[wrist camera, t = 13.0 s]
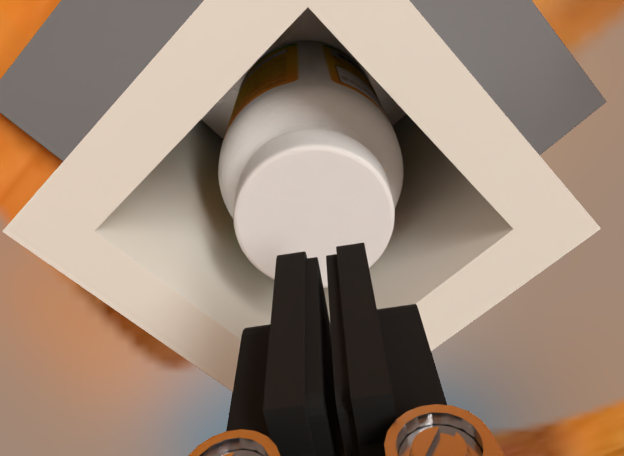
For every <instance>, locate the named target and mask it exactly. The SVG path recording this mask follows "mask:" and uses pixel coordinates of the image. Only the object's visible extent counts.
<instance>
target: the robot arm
mask: <svg viewBox="0 0 624 456" xmlns="http://www.w3.org/2000/svg"><path fill="white" fill-rule="evenodd" d="M336 252H337V254H334V255H327V256H326V265H327V281H328V296H329V312H330V320H329V315H328V310H327V304H326V299H325V294H324V288H323V283H322V278H321V272H320V267H319V262H318V258H317V257H314V258H307V255H306V252H305V251H303V252H297V253H290V254H283V255H277V257H276V267H275V278H274V290H273V301H272V312H271V323H270V325H263V326H255V327H248V328H245V329H244V330H243V332H242V336H241V343H240V349H239V355H238V362H237V368H236V374H235V381H234V387H233V393H232V399H231V406H230V412H229V418H228V425H227V431H226V432H224V433H221V434H219V435H216V436H213V437H211V438H209V439H208V440H206V441H205V442H203V443H202V444H200V445H199V446H197V447H196V449H195V450H194V451H193V452H192V453H191V454H190V455H189V456H505V455H504V453H503V452H502V450H501V448H500V447H499V445H498V443H497V441H496V440H495V438H494V436H493V435H492V433H491V431H490V430H489V429H488V428H487V426H486V425H485V424H484V423H483V422H482V420H480V419H479V418H478V417H476V416H475V415H473V414H472V413H470V412H469V411H466V410H463V409H460V408H457V407H455V406H450V405H447V403H446V400H445V397H444V393H443V390H442V387H441V384H440V380H439V377H438V373H437V370H436V367H435V363H434V360H433V357H432V353H431V350H430V347H429V343H428V340H427V337H426V333H425V330H424V327H423V323H422V320H421V317H420V313H419V310H418V307H417V305H416V304H411V305H404V306H397V307H390V308H383V309H377V307H376V302H375V297H374V291H373V286H372V281H371V276H370V270H369V265H368V260H367V255H366V249H365V244H364V243H357V244H350V245H343V246H337V247H336Z"/></svg>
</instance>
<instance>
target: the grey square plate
mask: <svg viewBox="0 0 624 456" xmlns="http://www.w3.org/2000/svg"><path fill="white" fill-rule="evenodd" d="M298 41H314V42H320V43H325V44H328V45H331V46H333V47H336V48H338V49H340V50H341V51H343V52H344V53H346V54H347V55H349V56H350V57H351V58H352V59H353V60H354V61H355V62H356V63H357V64H358V65H359V66H360V67H361V68H362V70H363V71H364V72H365V74H366V76H367V77H368V79H369V81H370V83H371V85H372V87H373V88H374V91H375V93H376V95H377V97H378V99H379V101H380V103H381V105H382V107H383V109H384V111H385V113H386V115H387V117H388V119H389V121H390V123H391V125H392V126H393V125H394V124H395V123H396V122H398V121H399V120H400V119H401V118H402V117H403V116H404V115H405V114H406V112H405V111H404V110H403V109H402V108H401V107H400V106H399V105H398V104H397V103H396V102H395V101H394V99H393V98H392V97H391V96H390V95H389V94H388V93H387V92H386V91H385V90H384V89H383V88H382V87H381V85H380V84H379V83H378V82H377V81H376V80H375V79H374V78H373V77H372V76H371V75H370V74H369V72H368V71H367V70H366V69H365V68H364V67H363V66H362V65H361V64H360V63H359V62H358V61H357V60H356V58H355V57H354V56H353V55H352V54H351V53H350V52H349V51H348V50H347V49H346V48H345V47H344V45H343V44H342V43H341V42H340V41H339V40H338V39H337V38H336V37H335V36H334V35H333V34H332V33H331V31H330V30H329V29H328V28H327V27H326V26H325V25H324V24H323V23H322V22H321V21H320V20H319V18H318V17H317V16H316V15H315V14H314V13H313V12H312V11H311V10H310V9H309V8H308V7H307V8H306V10H305V11H304V12H303V13H302V14H301V15H300V16H299V17H298V18H297V19H296V20H295V21H294V22H293V23H292V24H291V25H290V26H289V27H288V28H287V29H286V31H285V32H284V33H283V34H282V35H281V36H280V37H279V38H278V39H277V40H276V41H275V42H274V43H273V44H272V45H271V46H270V47H269V48H268V49H267V50H266V52H265V53H264V54H263V55H262V56H261V57H263V56H264V55H265V54H267V53H268V52H270V51H271V50H273V49H275V48H277V47H280V46H282V45H285V44H288V43H292V42H298ZM261 57H260V58H261ZM260 58H259V59H260ZM259 59H258V60H259ZM258 60H257V61H258ZM257 61H256V62H257ZM256 62H255V63H256ZM255 63H254V64H255ZM254 64H253V65H254ZM253 65H252V66H253ZM252 66H251V67H250V68H249V69H248V70H247V71H246V73H245V74H244V75H243V76H242V77H241V78H240V79H239V80H238V81H237V82H236V83H235V84H234V85H233V86H232V87H231V88H230V89H229V90H228V91H227V92H226V94H225V95H224V96H223V97H222V98H221V99H220V100H219V101H218V102H217V103H216V104H215V105H214V106H213V107H212V108H211V109H210V110H209V111H208V112H207V113H206V115H205V116H204V117H203V118H202V119H201V120H203V121H204V122H205V123H206V124H207V125H208V126H209V127H210V128H212V129H213V130H214V131H215V132H216V133H217V134H218V135H219V136H220V137H222V138H223V139H224V136H225V133H226V130H227V127H228V124H229V121H230V118H231V115H232V112H233V108H234V105H235V102H236V98H237V96H238V93H239V90H240V87H241V85H242V82H243V80H244V78H245V77H246V75H247V73H248V72H249V70H250V69H251V68H252Z"/></svg>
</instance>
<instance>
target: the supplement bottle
mask: <svg viewBox="0 0 624 456" xmlns="http://www.w3.org/2000/svg"><path fill="white" fill-rule="evenodd" d="M218 177H219V185H220V190H221V194H222V197H223V200H224V203H225V205H226V207H227V209H228V211H229V213H230V215H231V216H232V218H233V221H234V229H235V234H236V237H237V240H238V243H239V245H240V247H241V249H242V251H243V252H244V254H245V255H246V257H247V258H248V259H249V261H250V262H251V263H252V264H253V265H254V266H255V267H256V268H257V269H259V270H260V271H261V272H262V273H264V274H265V275H267V276H268V277H270V278H272V279H274V278H275V267H276V257H277V255H283V254H290V253H297V252H303V251H305V252H306V255H307V258H314V257H317V258H318V262H319V267H320V272H321V278H322V283H323V288H326V287H328V281H327V265H326V256H327V255H334V254H337V252H336V247H337V246H343V245H350V244H357V243H364V244H365V249H366V255H367V260H368V265H369V268H370V267H371V266H372V265H373V264H374V263H375V262H376V261H377V260H378V259H379V257H380V256H381V255H382V254H383V252H384V250H385V249H386V247H387V245H388V243H389V240H390V238H391V235H392V232H393V228H394V221H395V207H396V205H397V202H398V200H399V197H400V194H401V189H402V184H403V158H402V153H401V149H400V146H399V143H398V139H397V136H396V134H395V131H394V129H393V127H392V125H391V123H390V121H389V119H388V117H387V115H386V113H385V111H384V109H383V107H382V105H381V103H380V101H379V99H378V97H377V95H376V93H375V91H374V88H373V87H372V85H371V83H370V81H369V79H368V77H367V76H366V74H365V72H364V71H363V70H362V68H361V67H360V66H359V65H358V64H357V63H356V62H355V61H354V60H353V59H352V58H351V57H350V56H349V55H347V54H346V53H344V52H343V51H341V50H340V49H338V48H336V47H333V46H331V45H328V44H325V43H320V42H314V41H298V42H292V43H288V44H285V45H282V46H280V47H277V48H275V49H273V50H271V51H270V52H268V53H267V54H265V55H264V56H263V57H261V58H260V59H259V60H258V61H257V62H256V63H255V64H254V65H253V66H252V68H251V69H250V70H249V72H248V73H247V75H246V77H245V78H244V80H243V82H242V85H241V87H240V90H239V93H238V96H237V98H236V102H235V105H234V108H233V112H232V115H231V118H230V121H229V124H228V127H227V130H226V133H225V136H224V140H223V143H222V147H221V151H220V157H219V166H218Z"/></svg>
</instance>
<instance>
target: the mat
mask: <svg viewBox="0 0 624 456" xmlns="http://www.w3.org/2000/svg"><path fill="white" fill-rule="evenodd" d="M203 1H204V0H61V2H60V3H59V4H58V5H57V7H56V8H55V9H54V11H53V12H52V13H51V14H50V16H49V17H48V18H47V20H46V21H45V22H44V24H43V25H42V26H41V27H40V29H39V30H38V31H37V33H36V34H35V35H34V37H33V38H32V39H31V40H30V42H29V43H28V44H27V46H26V47H25V48H24V50H23V51H22V52H21V53H20V55H19V56H18V57H17V59H16V60H15V61H14V63H13V64H12V65H11V66H10V68H9V69H8V70H7V72H6V73H5V74H4V76H3V77H2V78H1V79H0V113H1V114H3V115H4V116H5V117H7V118H8V119H9V120H10V121H12V122H13V123H14V124H16V125H17V126H18V127H19V128H21V129H22V130H23V131H25V132H26V133H27V134H28V135H30V136H31V137H32V138H34V139H35V140H36V141H37V142H39V143H40V144H41V145H43V146H44V147H45V148H46V149H48V150H49V151H50V152H52V153H53V154H54V155H55V156H57V157H58V158H59V159H61V160H62V161H64V160H65V159H66V158H67V157H68V156H69V154H70V153H71V152H72V151H73V150H74V149H75V148H76V146H77V145H78V144H79V143H80V142H81V141H82V140H83V138H84V137H85V136H86V135H87V134H88V133H89V132H90V130H91V129H92V128H93V127H94V126H95V125H96V123H97V122H98V121H99V120H100V119H101V118H102V117H103V115H104V114H105V113H106V112H107V111H108V110H109V109H110V107H111V106H112V105H113V104H114V103H115V102H116V101H117V99H118V98H119V97H120V96H121V95H122V94H123V93H124V91H125V90H126V89H127V88H128V87H129V86H130V85H131V83H132V82H133V81H134V80H135V79H136V78H137V77H138V75H139V74H140V73H141V72H142V71H143V70H144V69H145V67H146V66H147V65H148V64H149V63H150V62H151V60H152V59H153V58H154V57H155V56H156V55H157V54H158V52H159V51H160V50H161V49H162V48H163V47H164V46H165V44H166V43H167V42H168V41H169V40H170V39H171V38H172V36H173V35H174V34H175V33H176V32H177V31H178V30H179V28H180V27H181V26H182V25H183V24H184V23H185V22H186V20H187V19H188V18H189V17H190V16H191V15H192V14H193V12H194V11H195V10H196V9H197V8H198V7H199V5H200V4H201V3H202V2H203ZM409 1H410V2H411V3H412V4H413V5H414V6H415V8H416V9H417V10H418V11H419V12H420V14H421V15H422V16H423V17H424V18H425V20H426V21H427V22H428V23H429V24H430V26H431V27H432V28H433V29H434V30H435V32H436V33H437V34H438V35H439V36H440V37H441V39H442V40H443V41H444V42H445V43H446V45H447V46H448V47H449V48H450V49H451V51H452V52H453V53H454V54H455V55H456V57H457V58H458V59H459V60H460V61H461V62H462V64H463V65H464V66H465V67H466V68H467V70H468V71H469V72H470V73H471V74H472V76H473V77H474V78H475V79H476V80H477V82H478V83H479V84H480V85H481V86H482V88H483V89H484V90H485V91H486V92H487V93H488V95H489V96H490V97H491V98H492V99H493V101H494V102H495V103H496V104H497V105H498V107H499V108H500V109H501V110H502V111H503V113H504V114H505V115H506V116H507V117H508V119H509V120H510V121H511V122H512V123H513V124H514V126H515V127H516V128H517V129H518V130H519V132H520V133H521V134H522V135H523V136H524V138H525V139H526V140H527V141H528V142H529V144H530V145H531V146H532V147H533V148H534V150H535V151H536V152H537V153H538V154H539V155H540V154H542V153H543V152H544V151H545V150H547V149H548V148H549V147H550V146H552V145H553V144H554V143H555V142H557V141H558V140H559V139H560V138H562V137H563V136H564V135H566V134H567V133H568V132H569V131H571V130H572V129H573V128H574V127H576V126H577V125H578V124H579V123H581V122H582V121H583V120H584V119H586V118H587V117H588V116H589V115H591V114H592V113H593V112H594V111H596V110H597V109H598V108H599V107H601V106H602V105H603V104H604V103H606V100H605V99H604V98H603V96H602V95H601V93H600V92H599V91H598V90H597V88H596V87H595V86H594V84H593V83H592V81H591V80H590V79H589V77H588V76H587V75H586V73H585V72H584V71H583V69H582V68H581V67H580V65H579V64H578V62H577V61H576V60H575V58H574V57H573V56H572V54H571V53H570V52H569V50H568V49H567V48H566V46H565V45H564V43H563V42H562V41H561V39H560V38H559V37H558V35H557V34H556V33H555V31H554V30H553V29H552V27H551V26H550V25H549V23H548V22H547V20H546V19H545V18H544V16H543V15H542V14H541V12H540V11H539V10H538V8H537V7H536V6H535V4H534V3H533V2H532V0H409ZM405 115H406V114H405ZM405 115H404V116H405ZM404 116H403V117H404ZM403 117H402V118H403ZM402 118H401V119H402ZM401 119H400V120H401ZM400 120H399V121H400ZM201 121H202V122H203V123H204V124H205V125H207V124H206V123H205V122H204V121H203V120H201ZM396 123H397V122H396ZM396 123H395V124H396ZM395 124H394V125H395ZM394 125H393V126H394ZM207 126H208V125H207ZM393 126H392V127H393ZM208 127H209V126H208ZM209 128H210V127H209ZM210 129H211V130H212V131H213V132H214V133H216V132H215V131H214V130H213V129H212V128H210ZM216 134H217V133H216ZM217 135H218V134H217ZM218 136H219V135H218ZM219 137H220V136H219ZM220 138H221V139H222V140H224V139H223V138H222V137H220Z"/></svg>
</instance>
